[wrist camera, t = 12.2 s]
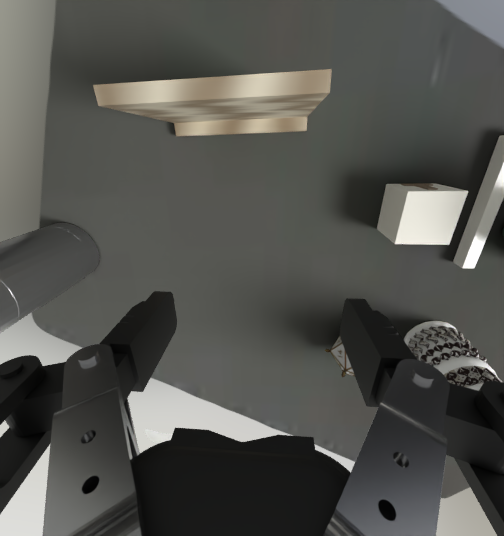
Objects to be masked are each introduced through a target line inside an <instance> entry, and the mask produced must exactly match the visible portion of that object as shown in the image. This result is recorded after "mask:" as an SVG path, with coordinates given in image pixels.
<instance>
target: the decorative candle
mask: <svg viewBox="0 0 504 536" xmlns="http://www.w3.org/2000/svg"><path fill="white" fill-rule="evenodd" d="M403 340H404V342H405V343H406V344H407V346H408V347H409V348H410V350H411V351H412V353H413V354H414V355H415V357H416V358H417V359H418V360H420V361H423V362H425V363H428V364H430V365H432V366H433V367H435V368H436V369H438V370H439V371H440V372H441V373H442V374H443V375H444V376H445V377H446V378H447V380H448V382H450V383H453V384H456V385H460V386H463V387H467V388H470V389H474V390H477V391H479V390H480V388H481V386H482V385H483V383H485V382H487V381H498V382H502V381H501V380H500V379H499V378H498V377H497V375H496V373H495V371H494V370H493V369H492V368H491V367H490V366H489V364H488V363H486V361H487V360H486V358H485V357H483V356H480V354H479V353H478V350H477V349H475V348H473V347H472V346H471V345H470V341H469V340H468V339H466V338H463V334H462V333H461V332H458V331H457V330H456V328H455V327H454V326H452V325H450V324H449V323H447V322H443V321H428V322H424V323H422V324H419V325H417V326H415V327H414V328H412V329H411V330H410V331H409V332H407V334H406V336H405V338H404V339H403Z"/></svg>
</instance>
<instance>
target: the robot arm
mask: <svg viewBox="0 0 504 536" xmlns="http://www.w3.org/2000/svg"><path fill="white" fill-rule="evenodd" d="M98 264H99V251H98V249H97V246H96V244H95V243H94V241H93V240H92V238H91V237H90V236H89V235H88V234H87V233H86V232H85V231H83V230H82V229H80V228H79V227H77V226H75V225H72V224H69V223H56V224H52V225H50V226H47V227H44V228H41V229H38V230H35V231H32V232H29V233H26V234H23V235H20V236H17V237H14V238H12V239H8V240H5V241H2V242H0V333H1V332H3V331H4V330H6V329H7V328H8V327H10V326H12V325H13V324H14V323H16V322H17V321H19V320H20V319H22V318H23V317H25V316H26V315H28V314H29V313H31V312H32V311H34V310H36V309H39V308H41V307H42V306H44V305H45V304H47V303H48V302H50V301H51V300H53V299H54V298H56V297H57V296H59V295H60V294H62V293H63V292H65V291H66V290H68V289H69V288H70V287H72V286H73V285H75V284H76V283H78V282H79V281H81V280H82V279H84V278H85V276H87V275H88V274H90V273H91V272H93V271H94V270H95V269H96V268H97V266H98ZM176 326H177V318H176V311H175V305H174V299H173V294H172V293H171V292H160V291H155V292H153V293H152V294H151V295H150V297H149V298H148V299H147V300H146V301H142V302H141V303H139V304H137V305H136V306H134V307H132V308H131V310H130V311H129V312H128V313H127V314H126V316H124V317H123V318H122V319H121V321H120V323H118V324H117V325H116V326H115V327H114V328H113V329H112V331H111V332H110V333H109V334H108V335H107V336H106V337H105V338H104V339H103V340H102V342H101V343H100V344H94V345H90V346H87V347H84V348H82V349H80V350H78V351H77V352H75V353H74V354H73V355H71V356H70V357H69V358H68V359H67V361H66V362H64V363H58V364H52V365H47V366H42V364H41V362H40V360H39V358H38V357H36V356H31V355H29V356H21V357H17V358H14V359H11V360H9V361H7V362H5V363H3V364H1V365H0V425H1V424H2V422H3V421H4V420H5V421H6V422H7V424H8V425H9V429H8V430H7V431H6V432H5V433H4V434H3V436H2V437H0V514H1V512H2V511H3V509H4V508H5V507H6V505H7V504H8V502H9V501H10V499H11V498H12V497H13V495H14V494H15V492H16V491H17V490H18V488H19V487H20V485H21V484H22V483H23V481H24V480H25V478H26V477H27V475H28V474H29V473H30V471H31V470H32V468H33V467H34V466H35V464H36V463H37V461H38V460H39V458H40V457H41V456H42V454H43V453H44V451H45V450H46V449H47V447H48V446H49V444H50V443H51V444H50V456H49V467H48V480H47V491H46V503H45V514H44V526H43V536H436V530H437V521H438V514H439V505H440V499H441V491H442V483H443V476H444V468H445V460H446V455H449V456H451V457H454V458H455V460H456V462H457V464H458V466H459V467H460V469H461V471H462V473H463V475H464V476H465V478H466V480H467V482H468V484H469V485H470V487H471V489H472V491H473V493H474V494H475V496H476V498H477V500H478V502H479V503H480V505H481V507H482V509H483V511H484V512H485V514H486V516H487V518H488V520H489V521H490V523H491V525H492V527H493V529H494V530H495V532H496V534H497V536H504V383H503V382H498V381H487V382H485V383H483V385H482V386H481V388H480V390H479V391H477V390H474V389H470V388H467V387H463V386H460V385H456V384H453V383H450V382H448V380H447V378H446V377H445V376H444V375H443V374H442V373H441V372H440V371H439V370H438V369H436V368H435V367H433V366H432V365H430V364H428V363H425V362H423V361H420V360H418V359H417V358H416V357H415V355H414V354H413V353H412V351H411V350H410V348H409V347H408V346H407V344H406V343H405V342H404V340H403V339H402V337H401V336H400V335H399V333H398V332H397V331H396V329H395V328H394V326H393V325H392V324H391V322H390V321H389V320H388V318H387V317H385V316H384V315H383V314H381V313H380V312H378V311H373V310H372V309H371V307H370V306H369V304H368V303H367V301H366V300H365V299H346V300H345V303H344V309H343V314H342V319H341V324H340V337H341V341H342V344H343V346H344V349H345V352H346V354H347V357H348V359H349V362H350V364H351V367H352V370H353V372H354V375H355V377H356V380H357V382H358V385H359V388H360V390H361V393H362V395H363V398H364V401H365V403H366V406H369V407H378V410H377V412H376V414H375V417H374V419H373V422H372V424H371V426H370V429H369V431H368V433H367V436H366V438H365V440H364V443H363V445H362V448H361V450H360V452H359V455H358V457H357V459H356V462H355V464H354V467H353V469H352V472H351V473H350V472H349V471H348V470H347V469H346V468H345V467H344V466H342V465H341V464H340V463H339V462H337V461H335V460H334V459H332V458H331V457H329V456H327V455H325V454H323V453H321V452H319V451H316V450H315V446H314V439H313V437H301V436H287V435H276V436H271V437H266V438H261V439H257V440H252V441H247V442H239V441H236V440H234V439H231V438H228V437H226V436H223V435H220V434H218V433H215V432H212V431H209V430H200V429H185V428H175V430H174V433H173V435H172V438H171V440H169V441H165V442H162V443H159V444H157V445H155V446H153V447H150V448H149V449H147V450H145V451H143V452H142V453H140V452H139V448H138V444H137V440H136V435H135V431H134V426H133V421H132V417H131V412H130V408H129V403H128V400H127V398H128V396H129V394H130V392H131V391H137V392H143V390H144V388H145V387H146V385H147V383H148V381H149V379H150V377H151V375H152V374H153V372H154V370H155V368H156V366H157V364H158V362H159V361H160V359H161V357H162V355H163V353H164V351H165V349H166V348H167V346H168V344H169V342H170V340H171V338H172V336H173V335H174V333H175V330H176Z"/></svg>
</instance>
